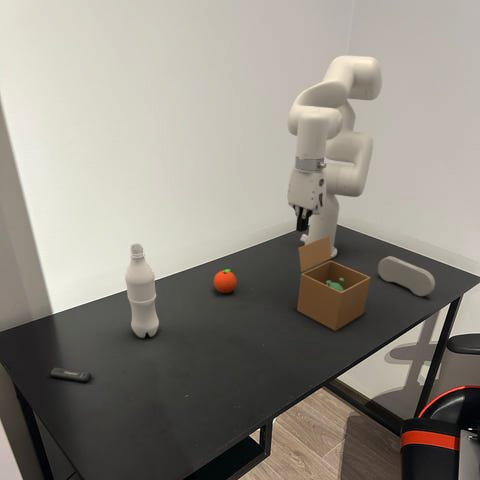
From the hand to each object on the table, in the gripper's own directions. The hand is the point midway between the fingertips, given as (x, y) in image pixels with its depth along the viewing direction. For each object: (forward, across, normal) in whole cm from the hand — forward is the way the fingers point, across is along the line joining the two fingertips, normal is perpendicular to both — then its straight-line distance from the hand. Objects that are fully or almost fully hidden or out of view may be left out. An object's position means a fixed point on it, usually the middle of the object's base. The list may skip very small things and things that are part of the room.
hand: (301, 230), depth 128 cm
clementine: (+22, +16, +14) cm, 30 cm away
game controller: (+21, -19, -30) cm, 42 cm away
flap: (+5, -6, 0) cm, 8 cm away
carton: (+21, -13, -1) cm, 25 cm away
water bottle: (+22, +13, +45) cm, 52 cm away
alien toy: (+21, -13, -1) cm, 25 cm away
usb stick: (+22, +9, +68) cm, 72 cm away
